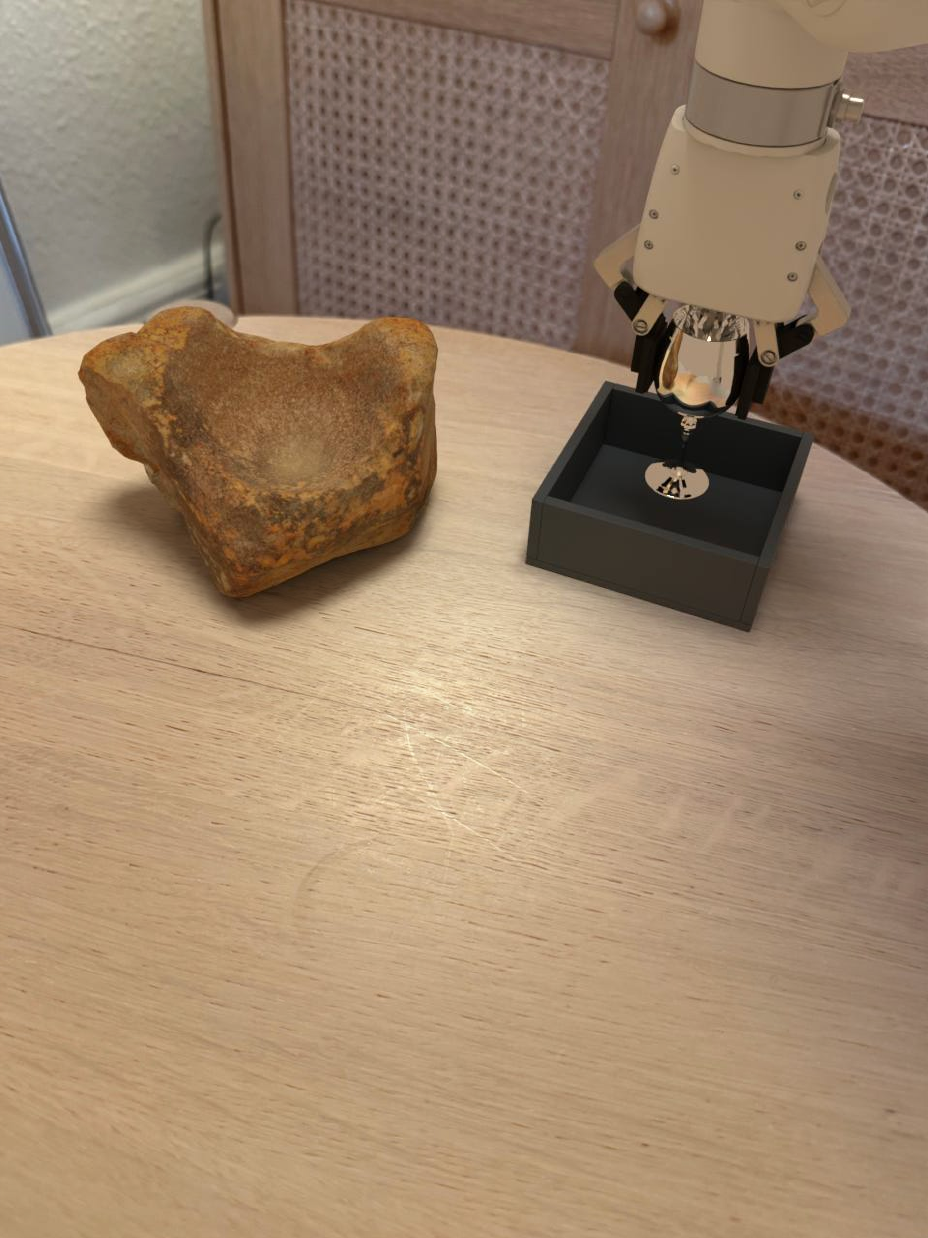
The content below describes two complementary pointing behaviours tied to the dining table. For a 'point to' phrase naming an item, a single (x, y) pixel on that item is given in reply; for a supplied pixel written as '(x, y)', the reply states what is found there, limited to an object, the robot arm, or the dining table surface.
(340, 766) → the dining table surface
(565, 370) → the dining table surface
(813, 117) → the robot arm
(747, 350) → the wineglass
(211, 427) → the rough brown rock
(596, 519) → the dish tub
